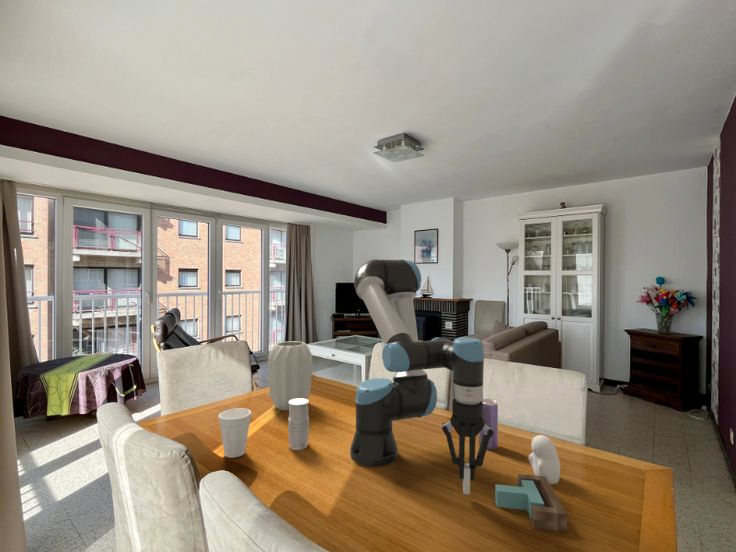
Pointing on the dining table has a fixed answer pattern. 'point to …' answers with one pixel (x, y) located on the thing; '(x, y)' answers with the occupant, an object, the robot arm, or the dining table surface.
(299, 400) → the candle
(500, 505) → the t block
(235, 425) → the cup
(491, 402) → the beverage can
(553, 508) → the bracket
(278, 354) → the vase
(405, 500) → the dining table surface
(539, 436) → the figurine
